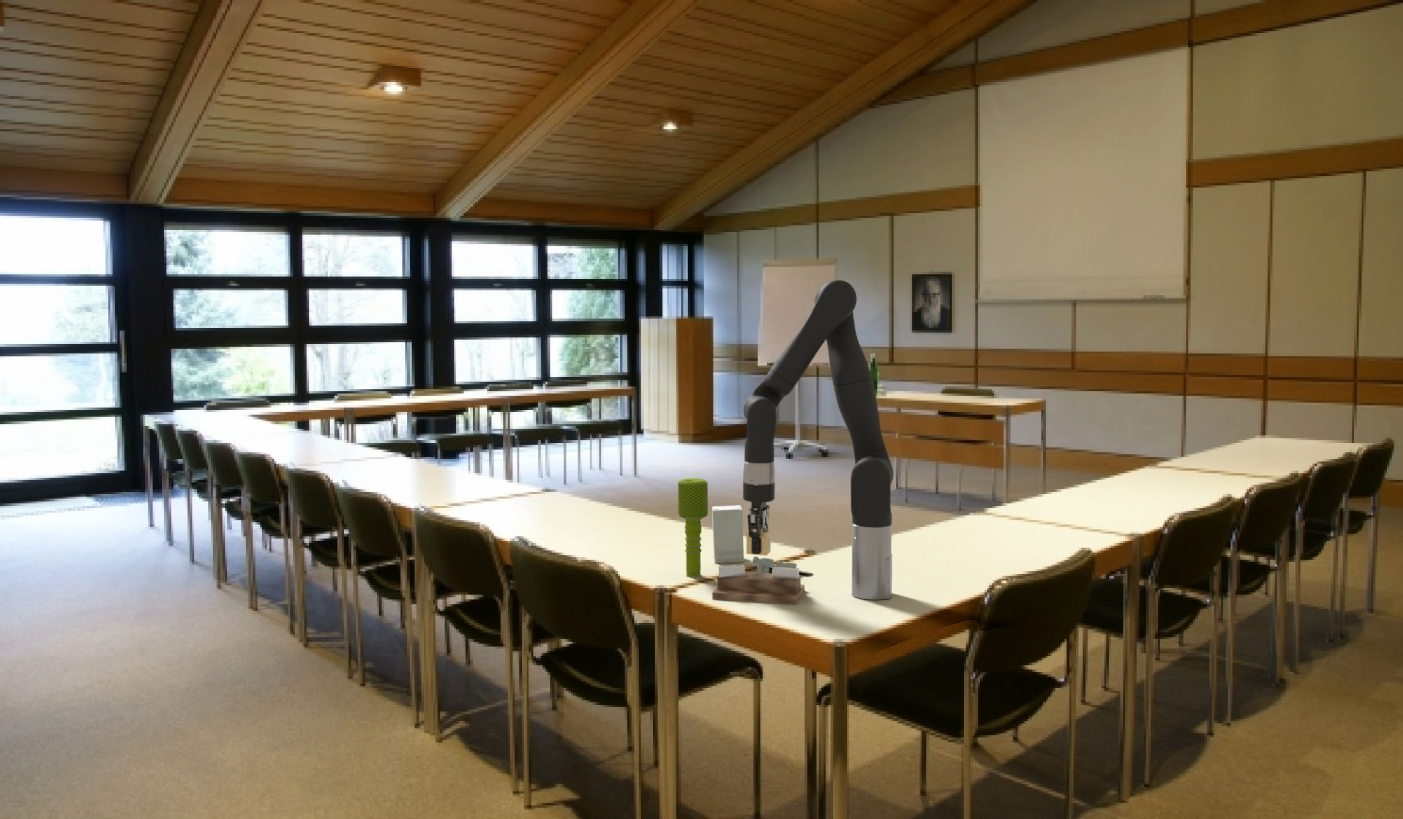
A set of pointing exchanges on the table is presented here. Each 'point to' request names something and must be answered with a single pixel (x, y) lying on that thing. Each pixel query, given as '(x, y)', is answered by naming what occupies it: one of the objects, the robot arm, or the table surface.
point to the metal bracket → (771, 565)
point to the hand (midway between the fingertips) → (758, 551)
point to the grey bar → (776, 572)
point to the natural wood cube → (764, 542)
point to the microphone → (693, 519)
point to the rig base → (758, 596)
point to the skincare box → (728, 533)
